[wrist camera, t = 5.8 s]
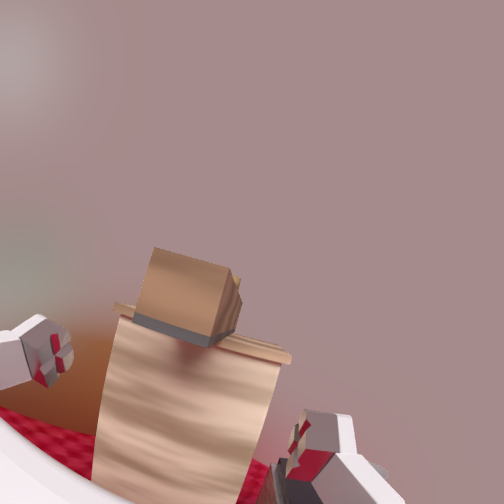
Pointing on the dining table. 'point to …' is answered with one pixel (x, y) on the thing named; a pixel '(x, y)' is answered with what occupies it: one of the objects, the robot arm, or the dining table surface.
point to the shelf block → (181, 415)
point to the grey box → (285, 488)
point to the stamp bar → (188, 299)
